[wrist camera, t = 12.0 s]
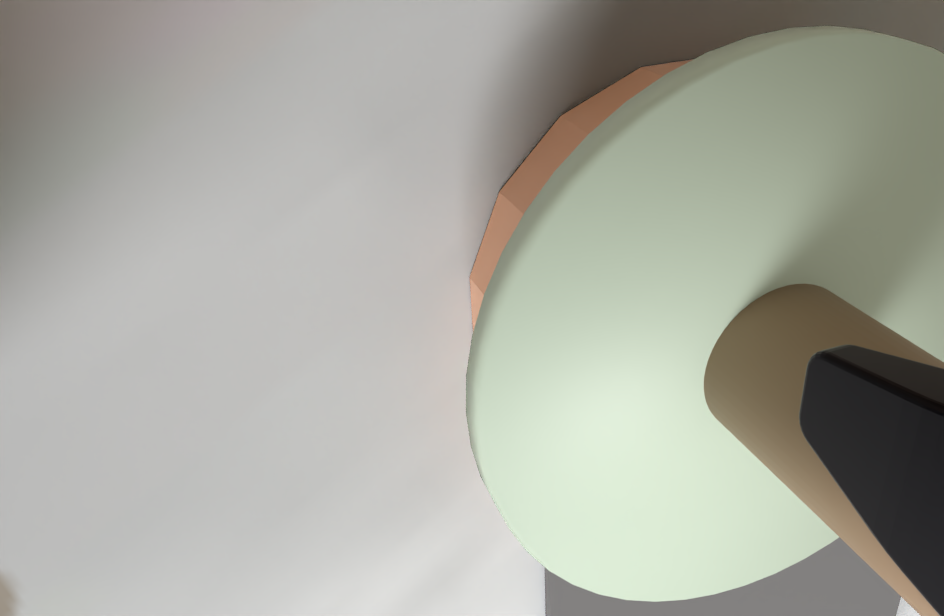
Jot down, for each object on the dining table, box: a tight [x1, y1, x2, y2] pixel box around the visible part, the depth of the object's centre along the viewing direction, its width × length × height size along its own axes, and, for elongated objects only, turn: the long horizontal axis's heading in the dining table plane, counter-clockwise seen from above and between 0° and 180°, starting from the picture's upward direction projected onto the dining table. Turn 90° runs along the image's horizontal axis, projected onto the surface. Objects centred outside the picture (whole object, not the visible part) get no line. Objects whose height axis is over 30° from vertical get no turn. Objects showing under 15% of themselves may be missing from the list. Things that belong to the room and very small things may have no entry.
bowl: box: [470, 59, 694, 331], centre depth 23 cm, size 12×12×4 cm
